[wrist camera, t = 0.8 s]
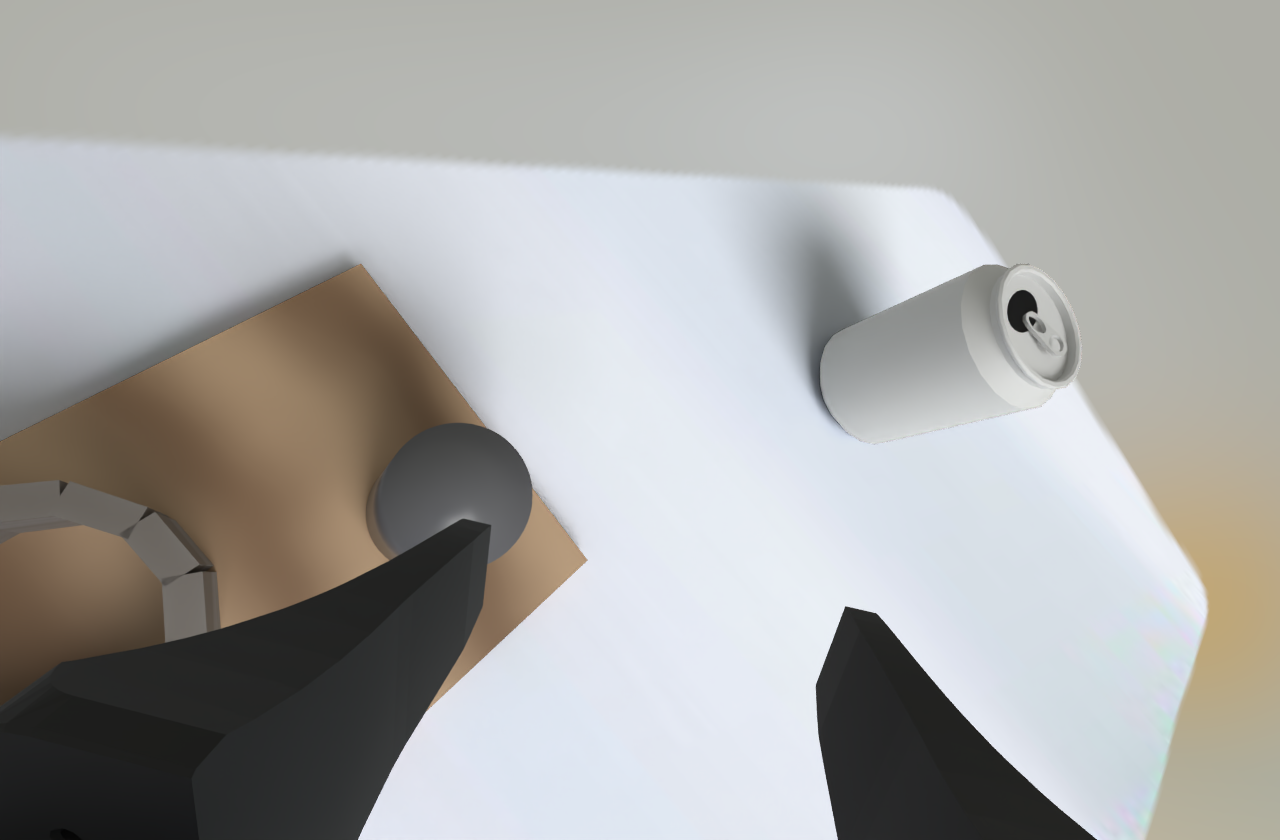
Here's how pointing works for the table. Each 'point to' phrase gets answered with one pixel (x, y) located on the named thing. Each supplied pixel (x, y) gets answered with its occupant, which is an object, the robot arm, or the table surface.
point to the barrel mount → (233, 488)
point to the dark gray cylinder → (450, 489)
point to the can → (953, 355)
